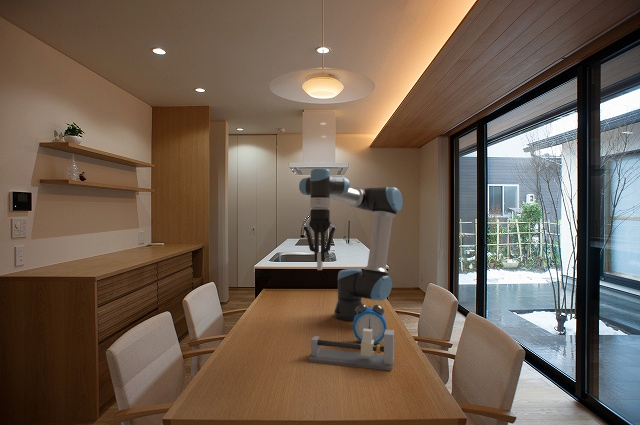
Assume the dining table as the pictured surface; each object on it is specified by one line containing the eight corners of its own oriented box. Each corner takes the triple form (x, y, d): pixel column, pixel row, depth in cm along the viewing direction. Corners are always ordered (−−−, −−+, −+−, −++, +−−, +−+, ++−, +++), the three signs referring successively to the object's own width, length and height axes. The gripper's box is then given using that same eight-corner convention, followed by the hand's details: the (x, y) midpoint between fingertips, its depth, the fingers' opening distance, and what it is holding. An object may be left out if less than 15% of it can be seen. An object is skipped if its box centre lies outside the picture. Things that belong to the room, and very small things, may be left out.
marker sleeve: (362, 350, 131) (362, 327, 131) (373, 351, 130) (374, 328, 130) (360, 355, 127) (360, 331, 127) (372, 356, 126) (372, 332, 126)
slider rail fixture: (316, 350, 139) (316, 321, 139) (394, 359, 131) (394, 328, 131) (308, 361, 129) (308, 329, 129) (392, 371, 122) (392, 337, 122)
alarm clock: (352, 344, 146) (352, 306, 145) (353, 338, 152) (353, 302, 151) (386, 346, 144) (386, 307, 143) (386, 340, 150) (386, 303, 150)
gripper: (301, 208, 143) (300, 270, 143) (334, 208, 139) (334, 271, 140) (306, 208, 150) (306, 267, 150) (338, 208, 147) (338, 268, 147)
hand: (319, 269), depth 145 cm, fingers closed
